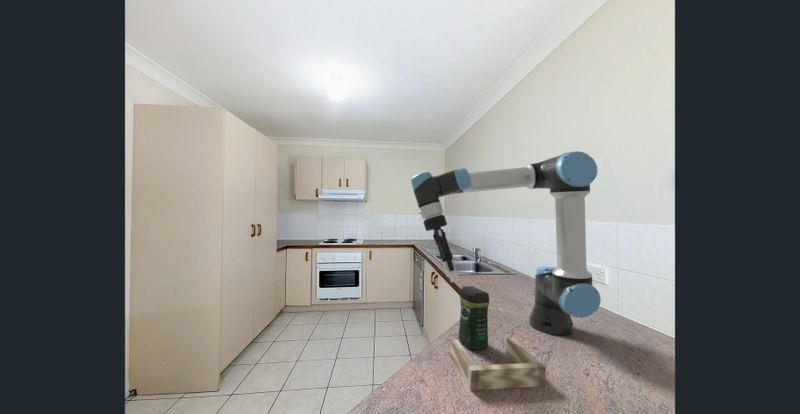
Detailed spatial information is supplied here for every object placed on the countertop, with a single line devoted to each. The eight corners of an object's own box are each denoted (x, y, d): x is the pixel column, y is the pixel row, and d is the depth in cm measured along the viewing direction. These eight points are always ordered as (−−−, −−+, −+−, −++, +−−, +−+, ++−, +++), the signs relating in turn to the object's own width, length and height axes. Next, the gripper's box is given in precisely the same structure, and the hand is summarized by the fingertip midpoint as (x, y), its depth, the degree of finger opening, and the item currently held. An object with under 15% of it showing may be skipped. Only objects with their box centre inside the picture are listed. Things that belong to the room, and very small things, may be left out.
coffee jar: (492, 349, 91) (494, 291, 91) (471, 353, 89) (473, 293, 89) (474, 335, 100) (476, 283, 100) (454, 338, 98) (456, 284, 98)
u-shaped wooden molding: (512, 353, 89) (512, 337, 89) (545, 386, 73) (545, 366, 73) (450, 356, 86) (450, 339, 86) (470, 390, 70) (471, 370, 70)
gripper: (422, 222, 110) (439, 277, 107) (423, 217, 85) (444, 287, 82) (441, 217, 110) (458, 271, 107) (447, 209, 85) (469, 280, 82)
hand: (452, 278), depth 94 cm, fingers open, 13 cm apart
